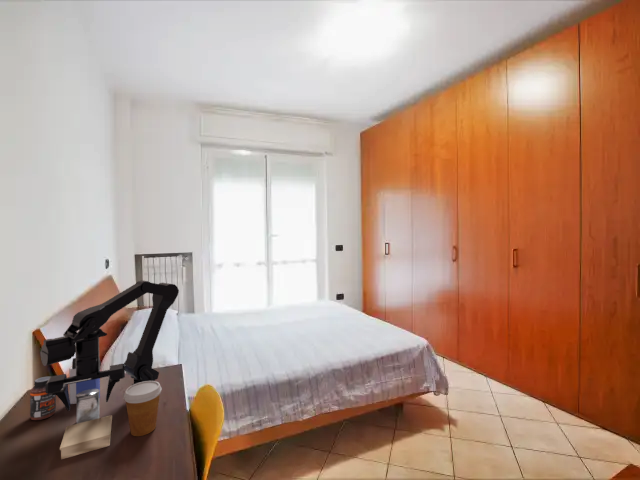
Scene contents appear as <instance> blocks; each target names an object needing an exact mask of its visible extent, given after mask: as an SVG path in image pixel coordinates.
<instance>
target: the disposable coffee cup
mask: <svg viewBox="0 0 640 480" xmlns="http://www.w3.org/2000/svg"><path fill="white" fill-rule="evenodd" d="M133 384H134V383H133ZM161 393H162V386H161V384H160V382H159V381H156V380H155V381H144V382H139V383H136V384H134V385H132V384H131V385H130V386H128V387H127V388H126V389H125V392H124V394H123V397H122V398H123V400H124V401H125V405H126V412H127V417H128V425H129V431H130V432H129V433H130V435H131V436H134V437H143V436H146V435H148V434H150V433H152V432H153V431H154V430H155V429H156V428H157V427H156V426H157V421H158V412H159V406H160V405H159V403H160V396H161Z"/></svg>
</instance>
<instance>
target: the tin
mask: <svg viewBox="0 0 640 480" xmlns="http://www.w3.org/2000/svg"><path fill="white" fill-rule="evenodd" d="M99 392H100V393H101V389H100V390H99V389H88V390H85V391H82V392H80V393H78V394H77V395H76V424H78V423H82V422H86V421H90V420H94V419H98V418H101V417H100V398H99Z"/></svg>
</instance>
